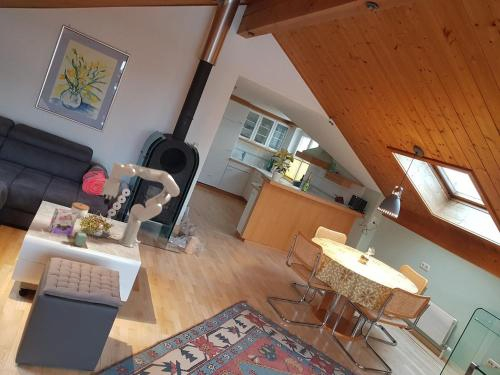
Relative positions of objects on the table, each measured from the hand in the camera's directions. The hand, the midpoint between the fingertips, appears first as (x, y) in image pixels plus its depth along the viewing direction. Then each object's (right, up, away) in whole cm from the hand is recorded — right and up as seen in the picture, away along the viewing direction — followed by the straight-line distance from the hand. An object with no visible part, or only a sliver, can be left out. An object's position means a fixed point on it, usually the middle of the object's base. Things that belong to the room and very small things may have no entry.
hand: (105, 203), depth 273 cm
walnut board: (-14, -25, -13) cm, 32 cm away
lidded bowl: (-34, -11, +32) cm, 49 cm away
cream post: (-11, -26, -17) cm, 34 cm away
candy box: (-28, -20, -9) cm, 35 cm away
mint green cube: (-11, -26, -17) cm, 33 cm away
